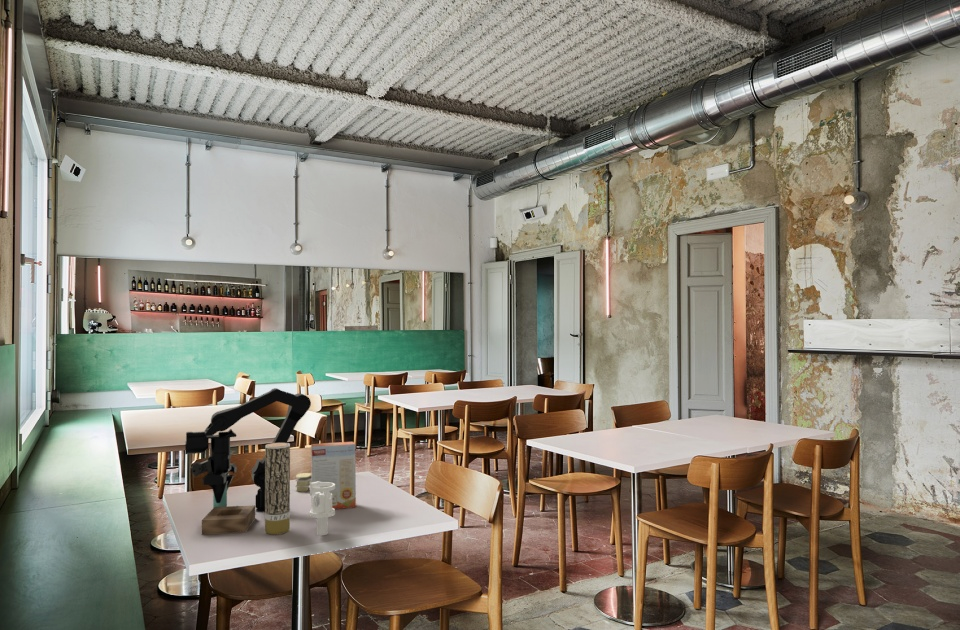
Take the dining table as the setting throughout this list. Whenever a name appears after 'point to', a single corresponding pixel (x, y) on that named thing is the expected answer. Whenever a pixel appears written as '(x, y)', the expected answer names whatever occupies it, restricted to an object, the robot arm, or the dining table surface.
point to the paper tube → (277, 488)
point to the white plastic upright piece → (321, 505)
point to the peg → (223, 500)
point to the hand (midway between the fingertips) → (220, 501)
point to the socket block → (228, 519)
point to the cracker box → (336, 471)
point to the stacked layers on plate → (303, 481)
